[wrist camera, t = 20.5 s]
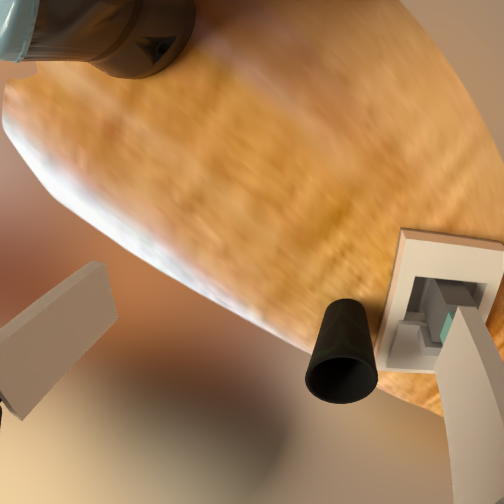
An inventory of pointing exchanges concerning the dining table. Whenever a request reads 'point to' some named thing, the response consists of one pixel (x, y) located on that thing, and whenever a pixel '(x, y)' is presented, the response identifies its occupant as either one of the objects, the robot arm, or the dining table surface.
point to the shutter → (413, 347)
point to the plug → (444, 305)
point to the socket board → (436, 266)
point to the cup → (342, 355)
